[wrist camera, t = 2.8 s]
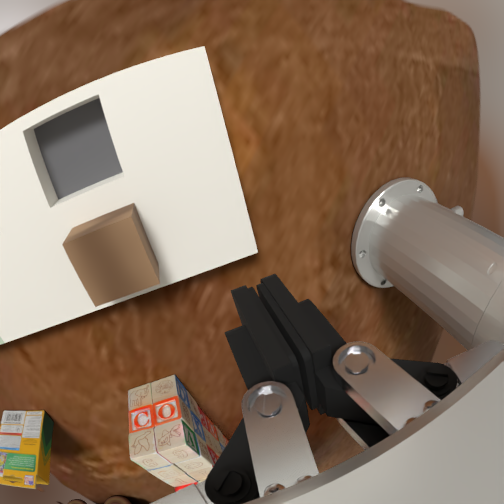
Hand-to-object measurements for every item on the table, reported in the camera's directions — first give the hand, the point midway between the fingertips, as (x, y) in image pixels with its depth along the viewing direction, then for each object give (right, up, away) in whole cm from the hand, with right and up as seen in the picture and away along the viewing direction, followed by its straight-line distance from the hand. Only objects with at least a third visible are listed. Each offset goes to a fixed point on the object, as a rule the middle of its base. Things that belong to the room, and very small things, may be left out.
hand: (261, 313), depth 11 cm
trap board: (-17, +5, +10) cm, 20 cm away
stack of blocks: (-9, -21, +25) cm, 33 cm away
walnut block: (-10, +3, +10) cm, 14 cm away
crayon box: (-29, -19, +17) cm, 39 cm away
